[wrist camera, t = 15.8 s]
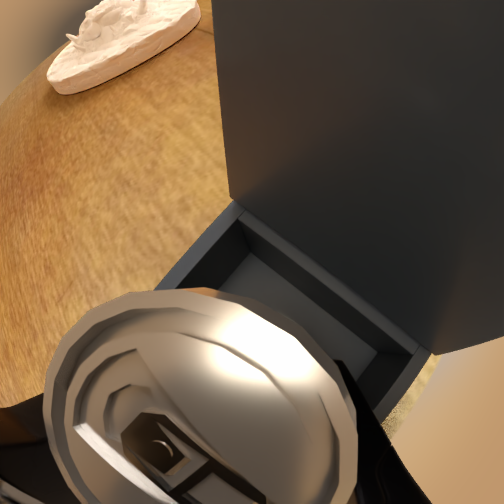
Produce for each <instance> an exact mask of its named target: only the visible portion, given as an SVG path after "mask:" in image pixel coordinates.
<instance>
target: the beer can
mask: <svg viewBox="0 0 504 504" xmlns="http://www.w3.org/2000/svg"><path fill="white" fill-rule="evenodd" d="M43 416H44V422H45V427H46V433H47V437H48V442H49V447H50V450H51V452H52V455H53V457H54V459H55V461H56V463H57V465H58V468H59V470H60V472H61V474H62V476H63V478H64V479H65V481H66V483H67V485H68V487H69V488H70V489H71V491H72V492H73V493H74V494H75V496H76V497H77V498H78V499H79V501H80V502H81V503H82V504H347V502H348V500H349V498H350V496H351V494H352V492H353V489H354V487H355V485H356V483H357V460H358V434H357V431H356V409H355V407H354V404H353V402H352V400H351V397H350V395H349V392H348V390H347V387H346V385H345V383H344V380H343V378H342V375H341V373H340V371H339V368H338V366H337V365H336V364H335V363H334V361H333V360H332V359H331V358H330V357H329V356H328V355H327V354H326V353H325V352H324V350H323V349H322V348H321V347H320V346H319V345H318V344H317V343H316V342H315V341H314V339H313V338H312V337H311V336H310V335H309V334H308V333H307V332H306V331H305V329H304V328H303V327H302V326H300V325H298V324H297V323H295V322H293V321H291V320H290V319H288V318H286V317H284V316H283V315H281V314H279V313H278V312H276V311H274V310H272V309H271V308H269V307H267V306H266V305H264V304H262V303H261V302H259V301H257V300H256V299H252V298H248V297H243V296H239V295H235V294H231V293H227V292H222V291H218V290H214V289H210V288H206V287H200V288H186V289H172V290H158V291H142V292H129V293H126V294H124V295H122V296H120V297H117V298H115V299H113V300H111V301H108V302H106V303H104V304H102V305H99V306H97V307H95V308H93V309H90V310H89V311H88V312H87V313H86V314H85V315H84V316H83V317H82V318H81V319H80V320H79V321H78V322H77V323H76V324H75V325H74V326H73V327H72V328H71V329H70V330H69V331H68V332H67V333H66V334H65V335H64V336H63V337H62V338H61V341H60V343H59V345H58V347H57V349H56V351H55V354H54V356H53V358H52V360H51V363H50V365H49V367H48V370H47V372H46V379H45V388H44V398H43Z"/></svg>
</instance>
